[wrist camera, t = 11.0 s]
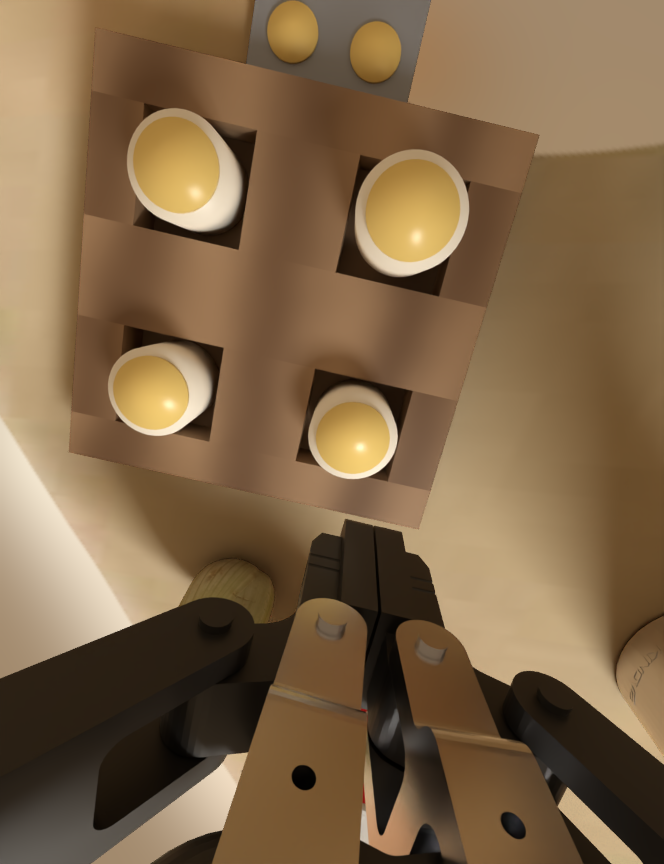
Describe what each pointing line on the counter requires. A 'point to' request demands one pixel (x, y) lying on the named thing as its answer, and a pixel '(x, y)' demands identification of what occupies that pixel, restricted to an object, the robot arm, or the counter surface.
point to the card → (341, 42)
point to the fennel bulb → (235, 587)
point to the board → (281, 277)
